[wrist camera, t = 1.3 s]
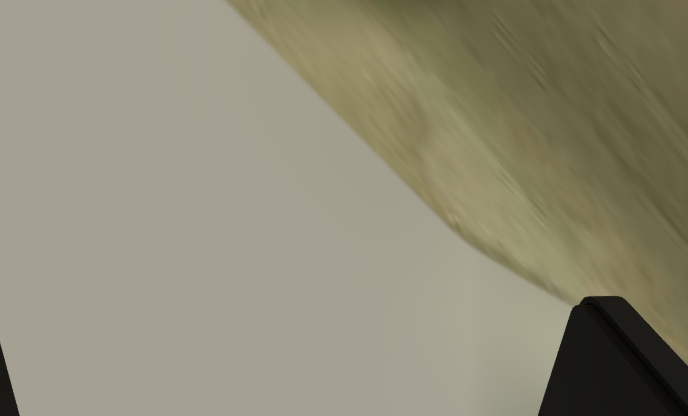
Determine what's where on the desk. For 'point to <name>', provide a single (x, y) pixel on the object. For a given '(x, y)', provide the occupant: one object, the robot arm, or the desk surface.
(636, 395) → the robot arm
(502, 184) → the desk surface
